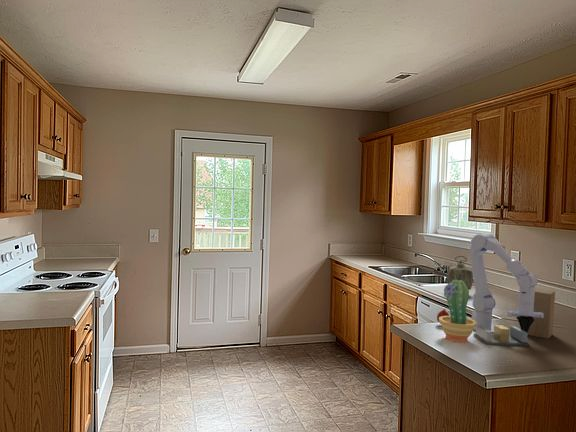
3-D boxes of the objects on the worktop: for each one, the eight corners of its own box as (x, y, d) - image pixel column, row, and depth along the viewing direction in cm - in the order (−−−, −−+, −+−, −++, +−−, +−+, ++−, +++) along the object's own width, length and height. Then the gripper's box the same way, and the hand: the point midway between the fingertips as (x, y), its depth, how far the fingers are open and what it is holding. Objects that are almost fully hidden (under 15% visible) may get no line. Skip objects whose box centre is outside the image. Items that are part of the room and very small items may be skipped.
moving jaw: (509, 335, 197) (510, 326, 197) (514, 335, 197) (515, 326, 197) (522, 342, 187) (522, 332, 187) (527, 342, 187) (527, 332, 187)
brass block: (493, 336, 195) (494, 325, 195) (501, 336, 195) (502, 325, 195) (500, 340, 189) (501, 329, 189) (508, 341, 189) (509, 329, 189)
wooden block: (528, 330, 212) (530, 287, 211) (552, 334, 205) (555, 291, 205) (523, 334, 204) (525, 290, 203) (548, 339, 198) (551, 293, 197)
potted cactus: (434, 332, 201) (437, 276, 200) (470, 334, 199) (473, 278, 198) (441, 343, 186) (445, 282, 185) (481, 346, 184) (484, 284, 183)
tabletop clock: (469, 294, 293) (471, 255, 292) (472, 297, 284) (475, 257, 283) (445, 292, 295) (448, 254, 294) (448, 295, 286) (451, 256, 285)
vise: (473, 335, 198) (474, 324, 198) (514, 337, 198) (514, 326, 198) (486, 344, 186) (486, 332, 186) (529, 346, 186) (530, 334, 186)
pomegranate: (434, 325, 213) (435, 308, 213) (440, 323, 217) (441, 306, 217) (446, 328, 209) (447, 310, 209) (451, 326, 213) (452, 309, 213)
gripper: (514, 303, 188) (512, 335, 188) (548, 304, 188) (546, 337, 189) (505, 299, 195) (503, 331, 195) (539, 301, 195) (537, 332, 196)
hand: (524, 333), depth 192 cm, fingers closed
